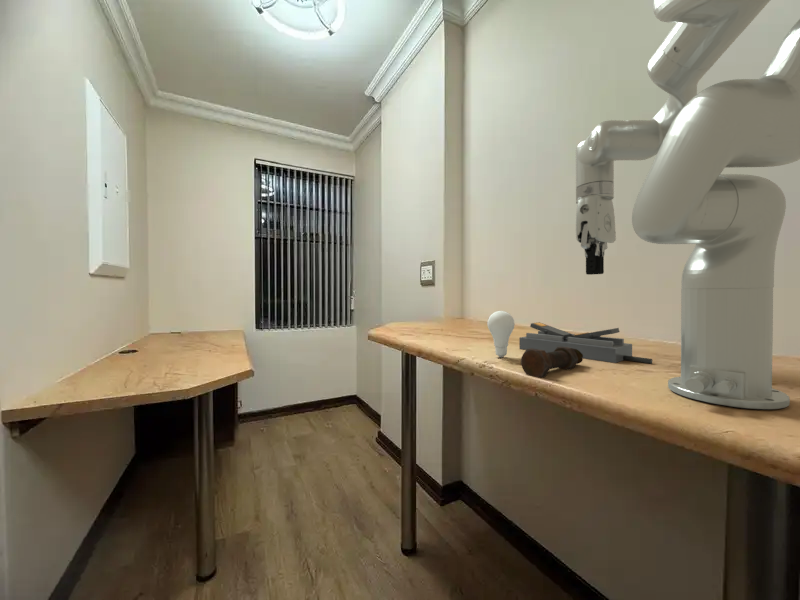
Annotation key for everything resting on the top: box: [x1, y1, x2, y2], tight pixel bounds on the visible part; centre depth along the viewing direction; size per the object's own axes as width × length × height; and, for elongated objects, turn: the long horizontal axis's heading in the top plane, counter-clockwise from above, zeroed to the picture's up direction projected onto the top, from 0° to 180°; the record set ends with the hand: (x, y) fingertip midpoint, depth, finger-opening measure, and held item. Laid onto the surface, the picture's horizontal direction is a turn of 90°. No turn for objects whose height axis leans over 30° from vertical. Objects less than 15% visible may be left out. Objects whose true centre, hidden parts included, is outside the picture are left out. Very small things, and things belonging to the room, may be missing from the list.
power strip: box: [518, 330, 653, 364], centre depth 80 cm, size 9×28×4 cm, turn 36°
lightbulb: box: [486, 310, 516, 358], centre depth 79 cm, size 6×6×11 cm
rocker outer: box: [529, 321, 572, 339], centre depth 87 cm, size 4×9×1 cm, turn 36°
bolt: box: [520, 346, 584, 378], centre depth 66 cm, size 6×5×15 cm
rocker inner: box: [571, 327, 620, 338], centre depth 78 cm, size 4×9×1 cm, turn 36°
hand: (594, 274), depth 77 cm, fingers closed
